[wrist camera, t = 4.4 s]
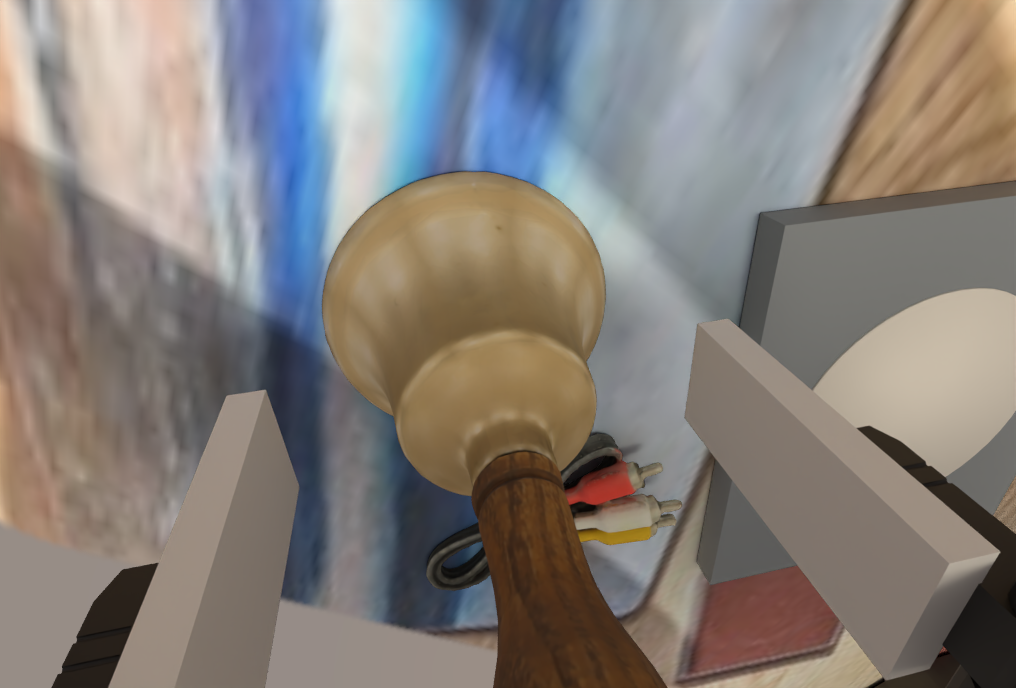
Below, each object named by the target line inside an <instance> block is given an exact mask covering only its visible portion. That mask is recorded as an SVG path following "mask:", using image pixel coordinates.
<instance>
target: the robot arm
mask: <svg viewBox="0 0 1016 688" xmlns="http://www.w3.org/2000/svg"><path fill="white" fill-rule="evenodd" d="M685 419H686V421H687V422H688V423H689V424H690V426H691V427H692V428H693V430H694V431H695V432H696V434H697V435H698V436H699V438H700V439H701V440H702V441H703V443H704V444H705V445H706V447H707V448H708V449H709V451H710V452H711V453H712V454H713V456H714V457H715V458H716V460H717V461H718V462H719V464H720V465H721V466H722V468H723V469H724V470H725V471H726V473H727V474H728V475H729V477H730V478H731V479H732V481H733V482H734V483H735V484H736V486H737V487H738V488H739V490H740V491H741V492H742V494H743V495H744V496H745V498H746V499H747V500H748V501H749V503H750V504H751V505H752V507H753V508H754V509H755V511H756V512H757V513H758V514H759V516H760V517H761V518H762V520H763V521H764V522H765V524H766V525H767V526H768V528H769V529H770V530H771V531H772V533H773V534H774V535H775V537H776V538H777V539H778V541H779V542H780V543H781V544H782V546H783V547H784V548H785V550H786V551H787V552H788V554H789V555H790V556H791V558H792V559H793V560H794V561H795V563H796V564H797V565H798V567H799V568H800V569H801V571H802V572H803V573H804V574H805V576H806V577H807V578H808V580H809V581H810V582H811V584H812V585H813V586H814V588H815V589H816V590H817V591H818V593H819V594H820V595H821V597H822V598H823V599H824V601H825V602H826V603H827V604H828V606H829V607H830V608H831V610H832V611H833V612H834V614H835V615H836V616H837V618H838V619H839V620H840V621H841V623H842V624H843V625H844V627H845V628H846V629H847V631H848V632H849V633H850V634H851V636H852V637H853V638H854V640H855V641H856V642H857V644H858V645H859V646H860V648H861V649H862V650H863V651H864V653H865V654H866V655H867V657H868V658H869V659H870V661H871V662H872V663H873V664H874V666H875V667H876V668H877V670H878V671H879V672H880V674H881V675H882V676H883V678H884V679H885V680H887V681H885V682H883V683H882V684H880V685H878V686H877V687H875V688H1016V534H1015V533H1014V532H1013V531H1011V530H1010V529H1009V528H1008V527H1006V526H1005V525H1004V524H1003V523H1001V522H1000V521H999V520H998V519H996V518H995V517H994V516H993V515H991V514H990V513H989V512H988V511H987V510H985V509H984V508H983V507H982V506H980V505H979V504H978V503H977V502H975V501H974V500H973V499H972V498H970V497H969V496H968V495H967V494H966V493H964V492H963V491H962V490H961V489H959V488H958V487H957V486H956V485H954V484H953V483H948V482H947V478H946V477H944V476H943V475H942V474H941V473H940V472H938V471H937V470H936V469H935V468H933V467H932V466H927V465H926V461H925V460H923V459H922V458H921V457H920V456H918V455H917V454H916V453H915V452H914V451H912V450H911V449H910V448H909V447H907V446H906V445H905V444H904V443H902V442H901V441H899V440H897V439H895V438H893V437H891V436H889V435H887V434H885V433H883V432H881V431H879V430H877V429H875V428H873V427H871V426H864V427H859V428H855V427H854V426H853V425H852V424H851V423H850V422H848V421H847V420H846V419H845V418H844V417H843V416H841V415H840V414H839V413H838V412H837V411H836V410H834V409H833V408H832V407H831V406H830V405H829V404H827V403H826V402H825V401H824V400H823V399H822V398H820V397H819V396H818V395H817V394H816V393H815V392H813V391H812V390H811V389H810V388H809V387H808V386H806V385H805V384H804V383H803V382H802V381H801V380H799V379H798V378H797V377H796V376H795V375H794V374H792V373H791V372H790V371H789V370H788V369H786V368H785V367H784V366H783V365H782V364H781V363H779V362H778V361H777V360H776V359H775V358H774V357H772V356H771V355H770V354H769V353H768V352H767V351H765V350H764V349H763V348H762V347H761V346H760V345H758V344H757V343H756V342H755V341H754V340H753V339H751V338H750V337H749V336H748V335H747V334H746V333H744V332H743V331H742V330H741V329H740V328H739V327H737V326H736V325H735V324H734V323H733V322H732V321H730V320H729V319H723V320H716V321H710V322H703V323H698V324H697V331H696V338H695V345H694V353H693V360H692V367H691V374H690V382H689V389H688V396H687V404H686V411H685ZM298 492H299V484H298V482H297V479H296V476H295V473H294V470H293V467H292V464H291V461H290V458H289V455H288V452H287V450H286V447H285V444H284V441H283V438H282V435H281V432H280V429H279V426H278V423H277V421H276V418H275V415H274V412H273V409H272V406H271V403H270V400H269V397H268V394H267V392H266V390H260V391H254V392H247V393H241V394H234V395H228V396H226V399H225V401H224V404H223V406H222V408H221V411H220V413H219V416H218V418H217V421H216V423H215V426H214V428H213V431H212V433H211V436H210V438H209V440H208V443H207V445H206V448H205V450H204V453H203V455H202V458H201V460H200V463H199V465H198V468H197V470H196V472H195V475H194V477H193V480H192V482H191V485H190V487H189V490H188V492H187V495H186V497H185V500H184V502H183V505H182V507H181V509H180V512H179V514H178V517H177V519H176V522H175V524H174V527H173V529H172V532H171V534H170V537H169V539H168V541H167V544H166V546H165V549H164V551H163V554H162V556H161V559H160V561H159V563H155V564H149V565H144V566H139V567H134V568H129V569H123V570H122V571H121V572H120V573H119V574H118V575H117V576H116V577H115V578H114V580H113V581H112V582H111V583H110V584H109V585H108V586H107V587H106V589H105V590H104V591H103V592H102V593H101V594H100V595H99V596H98V598H97V599H96V600H95V601H94V602H93V604H92V606H91V608H90V610H89V612H88V614H87V617H86V618H85V620H84V623H83V624H82V627H81V629H80V631H79V633H78V635H77V642H76V643H75V644H73V645H72V647H71V649H70V651H69V653H68V655H67V657H66V659H65V661H64V663H63V665H62V668H63V669H62V673H61V674H58V675H57V677H56V679H55V682H54V684H53V686H52V688H265V684H266V679H267V673H268V667H269V661H270V655H271V649H272V643H273V638H274V632H275V625H276V620H277V613H278V608H279V603H280V597H281V591H282V585H283V579H284V573H285V568H286V562H287V556H288V550H289V544H290V538H291V533H292V527H293V521H294V515H295V509H296V503H297V497H298ZM943 646H944V647H945V648H946V649H947V650H948V651H949V653H950V654H949V655H945V656H942V657H939V658H936V657H937V656H938V654H939V652H940V651H941V649H942V647H943Z"/></svg>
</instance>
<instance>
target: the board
mask: <svg viewBox="0 0 1016 688" xmlns="http://www.w3.org/2000/svg"><path fill="white" fill-rule="evenodd" d="M740 329H741V330H742V331H743V332H744V333H746V334H747V335H748V336H749V337H750V338H751V339H753V340H754V341H755V342H756V343H757V344H758V345H760V346H761V347H762V348H763V349H764V350H765V351H767V352H768V353H769V354H770V355H771V356H772V357H774V358H775V359H776V360H777V361H778V362H779V363H781V364H782V365H783V366H784V367H785V368H786V369H788V370H789V371H790V372H791V373H792V374H794V375H795V376H796V377H797V378H798V379H799V380H801V381H802V382H803V383H804V384H805V385H806V386H808V387H809V388H810V389H811V390H812V391H813V392H815V393H816V394H817V395H818V396H819V397H820V398H822V399H823V400H824V401H825V402H826V403H827V404H829V405H830V406H831V407H832V408H833V409H834V410H836V411H837V412H838V413H839V414H840V415H841V416H843V417H844V418H845V419H846V420H847V421H848V422H850V423H851V424H852V425H853V426H854V427H855V428H859V427H864V426H871V427H873V428H875V429H877V430H879V431H881V432H883V433H885V434H887V435H889V436H891V437H893V438H895V439H897V440H899V441H901V442H902V443H904V444H905V445H906V446H907V447H909V448H910V449H911V450H912V451H914V452H915V453H916V454H917V455H918V456H920V457H921V458H922V459H923V460H925V461H926V465H927V466H932V467H933V468H935V469H936V470H937V471H938V472H940V473H941V474H942V475H943V476H944V477H946V478H947V482H948V483H953V484H954V485H956V486H957V487H958V488H959V489H961V490H962V491H963V492H964V493H966V494H967V495H968V496H969V497H970V498H972V499H973V500H974V501H975V502H977V503H978V504H979V505H980V506H982V507H983V508H984V509H985V510H987V511H988V512H989V513H990V514H991V515H994V513H995V511H996V509H997V507H998V506H999V504H1000V502H1001V500H1002V499H1003V497H1004V495H1005V493H1006V492H1007V490H1008V488H1009V486H1010V484H1011V483H1012V481H1013V479H1014V477H1015V476H1016V181H1012V182H1004V183H996V184H988V185H980V186H972V187H964V188H956V189H948V190H940V191H932V192H924V193H916V194H908V195H900V196H892V197H884V198H876V199H868V200H860V201H853V202H845V203H837V204H829V205H821V206H813V207H805V208H797V209H789V210H781V211H773V212H765V213H760V219H759V224H758V230H757V235H756V241H755V246H754V252H753V257H752V263H751V268H750V274H749V279H748V284H747V290H746V295H745V301H744V306H743V312H742V317H741V323H740ZM697 563H698V565H699V567H700V568H701V570H702V572H703V574H704V575H705V577H706V579H707V580H708V582H709V584H710V585H713V584H717V583H722V582H726V581H731V580H735V579H739V578H744V577H748V576H753V575H757V574H762V573H766V572H770V571H775V570H779V569H784V568H788V567H793V566H797V564H796V563H795V561H794V560H793V559H792V558H791V556H790V555H789V554H788V552H787V551H786V550H785V548H784V547H783V546H782V544H781V543H780V542H779V541H778V539H777V538H776V537H775V535H774V534H773V533H772V531H771V530H770V529H769V528H768V526H767V525H766V524H765V522H764V521H763V520H762V518H761V517H760V516H759V514H758V513H757V512H756V511H755V509H754V508H753V507H752V505H751V504H750V503H749V501H748V500H747V499H746V498H745V496H744V495H743V494H742V492H741V491H740V490H739V488H738V487H737V486H736V484H735V483H734V482H733V481H732V479H731V478H730V477H729V475H728V474H727V473H726V471H725V470H724V469H723V468H722V466H721V465H720V464H719V462H718V461H717V460H716V459H715V465H714V470H713V476H712V481H711V487H710V492H709V498H708V503H707V509H706V514H705V519H704V525H703V530H702V536H701V541H700V547H699V552H698V558H697Z"/></svg>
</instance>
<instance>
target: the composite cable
mask: <svg viewBox="0 0 1016 688" xmlns="http://www.w3.org/2000/svg"><path fill="white" fill-rule="evenodd" d="M604 455H605V457H604V459H603V461H602V462H601V463H600V464H599V465H598V467H597V468H595V469H594V470H593V471H591V472H589V473H588V474H586V475H585V476H583V477H581V478H579V479H577V480H576V481H574V482H572V483H570V484H568V485H566V486H564V490H565V495H566V497H567V500H568V503H569V506H570V509H571V513H572V516H573V519H574V522H575V526H576V529H577V532H578V536H579V539H580V542H584V541H590V540H598V541H600V542H602V543H604V544H607V545H614V544H622V543H629V542H636V541H643V540H648V539H649V538H650V537H652V536H654V535H655V534H656V532H657V529H658V528H660V527H664V526H671V525H675V524H676V519H675V517H674V515H673V514H665V515H661V514H662V513H664V512H671V511H676V510H679V509H680V508H681V507H682V502H681V501H680V500H669V501H663V502H659V501H657V500H656V499H655V497H654V496H653V495H649V496H645V495H644V494H638V495H632V496H630V494H633V493H635V492H636V490H637V489H638V488H644V487H645V483H644V482H643V481H644V479H645V478H646V477H647V476H652V475H656V474H657V473H660V472H662V471H663V466H662V464H661V463H654V464H651V465H648V466H645V467H642V468H639V466H638V464H637V463H635V462H630V463H626V462H624V461H622V457H623V455H622V453H621V451H620V450H619V449H618V446H617V445H616V444H615V441H614V439H613V438H612V437H611V436H609V435H605V434H595V435H593V436H589V437H588V439H587V441H586V443H585V444H584V446H583V448H582V449H581V450H580V452H579V453H578V455H577V456H576V457H575V458H574V459H573V460H572V461H571V462H570V463H569V464H568V465H567V467H566V468H564V469H563V470H562V471H560V473H561V477H562V482H563V483H564V482H565V481H566V479H567V478H568V477H569V476H570V475H571V474H572V473H573V472H574V471H575V470H577V469H578V468H579V467H580V466H581V465H584V464H586V463H588V462H589V461H591V460H593V459H595V458H597V457H601V456H604ZM481 541H482V539H481V535H480V531H479V523H477V524H474V525H472V526H470V527H468V528H466V529H464V530H462V531H460V532H458V533H456V534H454V535H453V536H451V537H449V538H448V539H446V540H445V541H444V542H442V543H441V544H440V545H438V546H437V548H435V550H434V551H433V552H432V554H431V555H430V557H429V560H428V563H427V572H426V575H427V578H428V580H429V581H430V583H431V584H432V585H433V586H434V587H435V588H438V589H441V590H453V591H455V590H461V589H465V588H469V587H471V586H473V585H476V584H479V583H480V582H482V581H483V580H485V579H486V578H487V577H488V576H490V570H489V566H488V561H487V557H486V553H485V550H484V547H483V548H482V549H481V550H480V551H479V552H478V553H477V554H476V555H475V556H474V557H473V558H472V559H470V560H469V561H468V562H467V563H465V564H463V565H462V566H460V567H457V568H453V569H447V568H444V567H443V566H442V564H443V563H444V562H445V561H446V560H447V559H448V558H449V557H450V556H453V555H454V554H455V553H457V552H458V551H460V550H462V549H465V548H466V547H469V546H471V545H473V544H475V543H477V542H481Z"/></svg>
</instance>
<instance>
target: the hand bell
mask: <svg viewBox="0 0 1016 688" xmlns="http://www.w3.org/2000/svg"><path fill="white" fill-rule="evenodd" d="M605 300H606V290H605V276H604V270H603V266H602V263H601V258H600V255H599V253H598V250H597V248H596V246H595V244H594V242H593V240H592V238H591V236H590V234H589V232H588V231H587V229H586V228H585V226H584V225H583V224H582V222H581V221H580V220H579V219H578V217H577V216H576V215H575V214H574V213H573V212H572V211H571V210H570V209H569V208H567V207H566V206H565V205H564V204H563V203H562V202H561V201H559V200H558V199H557V198H555V197H554V196H552V195H551V194H549V193H548V192H546V191H544V190H542V189H540V188H538V187H536V186H534V185H532V184H530V183H528V182H526V181H523V180H519V179H516V178H513V177H509V176H505V175H501V174H497V173H490V172H467V171H465V172H455V173H449V174H442V175H437V176H433V177H430V178H426V179H422V180H419V181H416V182H414V183H411V184H409V185H407V186H405V187H403V188H401V189H399V190H397V191H395V192H394V193H392V194H390V195H389V196H387V197H385V198H384V199H382V200H381V201H380V202H378V203H377V204H375V205H374V206H373V207H371V208H370V209H369V210H367V211H366V212H365V213H364V214H363V215H362V216H361V217H360V218H359V219H358V221H357V222H356V223H355V224H354V225H353V226H352V227H351V229H350V230H349V231H348V232H347V234H346V235H345V237H344V238H343V240H342V241H341V243H340V244H339V246H338V248H337V250H336V252H335V254H334V256H333V259H332V261H331V263H330V266H329V269H328V272H327V276H326V280H325V285H324V290H323V299H322V314H323V323H324V329H325V336H326V339H327V342H328V345H329V347H330V350H331V352H332V354H333V356H334V358H335V360H336V362H337V364H338V366H339V367H340V369H341V370H342V372H343V374H344V375H345V376H346V378H347V379H348V380H349V382H350V383H351V384H352V385H353V386H354V387H355V388H356V389H357V390H358V391H359V392H360V393H361V394H362V395H363V396H364V397H365V398H366V399H367V400H369V401H370V402H371V403H372V404H374V405H375V406H377V407H378V408H380V409H381V410H383V411H384V412H386V413H388V414H390V415H392V416H394V421H395V426H396V431H397V436H398V441H399V443H400V445H401V448H402V450H403V452H404V455H405V456H406V458H407V459H408V460H409V461H410V463H411V464H412V465H413V466H414V468H415V469H416V470H417V471H418V472H419V473H420V474H421V475H422V476H423V477H425V478H426V479H428V480H429V481H430V482H432V483H434V484H436V485H437V486H439V487H441V488H444V489H446V490H448V491H450V492H454V493H457V494H461V495H467V496H472V505H473V509H474V511H475V514H476V517H477V519H478V523H479V531H480V535H481V539H482V542H483V546H484V550H485V553H486V557H487V561H488V566H489V570H490V575H491V579H492V584H493V588H494V594H495V601H496V608H497V616H498V657H497V664H496V671H495V678H494V685H493V688H667V686H666V685H665V683H664V681H663V680H662V678H661V677H660V675H659V674H658V672H657V671H656V669H655V668H654V666H653V665H652V664H651V662H650V661H649V660H648V659H647V657H646V656H645V655H644V653H643V652H642V651H641V650H640V648H639V647H638V646H637V644H636V643H635V642H634V641H633V639H632V638H631V637H630V635H629V634H628V633H627V631H626V630H625V629H624V628H623V626H622V625H621V624H620V622H619V621H618V620H617V619H616V617H615V616H614V614H613V612H612V611H611V609H610V608H609V606H608V604H607V603H606V601H605V600H604V598H603V596H602V594H601V592H600V590H599V588H598V587H597V585H596V583H595V581H594V578H593V576H592V574H591V571H590V569H589V566H588V563H587V560H586V558H585V555H584V552H583V549H582V545H581V542H580V539H579V536H578V532H577V529H576V526H575V522H574V519H573V516H572V513H571V509H570V506H569V503H568V500H567V497H566V495H565V490H564V486H563V482H562V477H561V473H560V471H562V470H563V469H564V468H566V467H567V465H568V464H569V463H570V462H571V461H572V460H573V459H574V458H575V457H576V456H577V455H578V453H579V452H580V450H581V449H582V448H583V446H584V444H585V443H586V441H587V439H588V437H589V435H590V433H591V431H592V427H593V424H594V420H595V415H596V402H597V396H596V390H595V385H594V382H593V379H592V377H591V374H590V371H589V368H588V366H587V363H586V361H587V359H588V358H589V356H590V354H591V352H592V350H593V348H594V346H595V344H596V341H597V338H598V336H599V333H600V329H601V325H602V321H603V316H604V309H605Z"/></svg>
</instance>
